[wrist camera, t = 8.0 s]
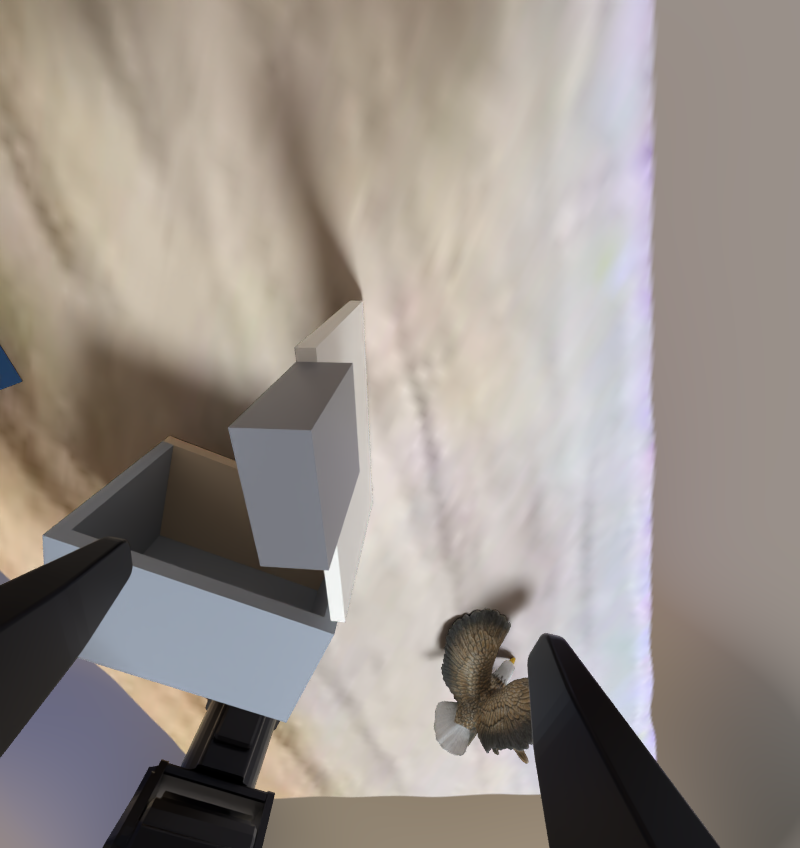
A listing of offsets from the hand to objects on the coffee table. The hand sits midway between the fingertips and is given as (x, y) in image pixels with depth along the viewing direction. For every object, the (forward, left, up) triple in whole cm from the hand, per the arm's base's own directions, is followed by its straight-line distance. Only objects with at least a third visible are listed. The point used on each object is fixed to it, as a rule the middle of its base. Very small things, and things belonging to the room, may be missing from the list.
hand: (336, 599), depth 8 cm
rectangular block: (-2, 0, -12) cm, 12 cm away
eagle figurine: (-17, -14, -13) cm, 25 cm away
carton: (-12, +4, -13) cm, 18 cm away
